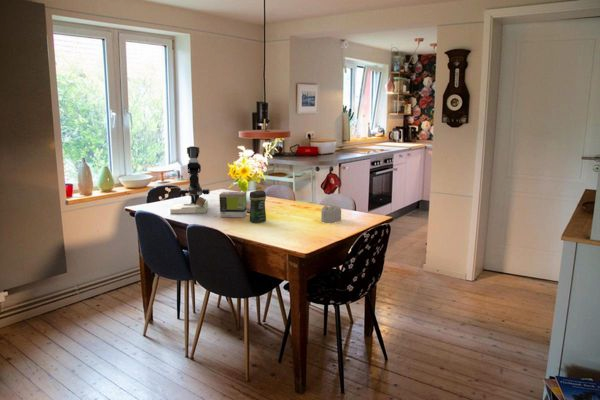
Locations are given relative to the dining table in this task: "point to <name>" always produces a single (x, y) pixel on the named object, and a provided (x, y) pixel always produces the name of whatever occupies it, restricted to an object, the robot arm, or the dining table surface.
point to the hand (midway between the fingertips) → (195, 204)
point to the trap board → (188, 208)
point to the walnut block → (201, 201)
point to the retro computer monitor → (233, 204)
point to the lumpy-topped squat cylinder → (331, 214)
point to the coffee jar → (257, 206)
